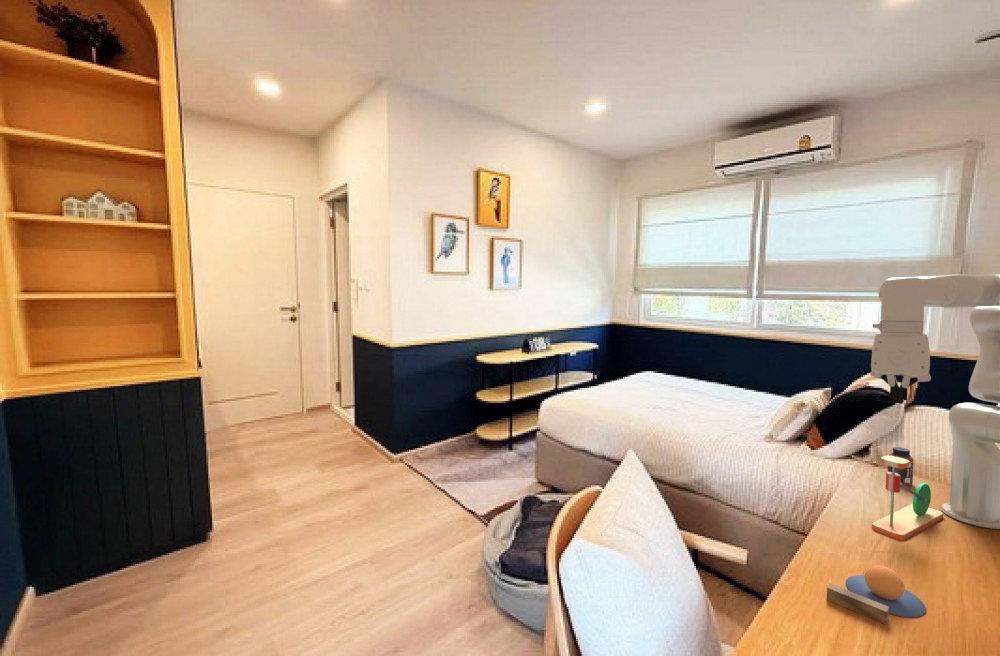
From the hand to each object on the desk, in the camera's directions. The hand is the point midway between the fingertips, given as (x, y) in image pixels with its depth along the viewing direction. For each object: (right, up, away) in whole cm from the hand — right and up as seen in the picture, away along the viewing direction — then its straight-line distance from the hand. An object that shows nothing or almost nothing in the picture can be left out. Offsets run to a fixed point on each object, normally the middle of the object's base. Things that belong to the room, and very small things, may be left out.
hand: (898, 402), depth 102 cm
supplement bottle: (+33, -33, +34) cm, 58 cm away
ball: (-20, -34, -18) cm, 43 cm away
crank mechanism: (+12, -35, +10) cm, 38 cm away
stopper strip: (-28, -37, -21) cm, 51 cm away
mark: (-19, -37, -17) cm, 45 cm away
